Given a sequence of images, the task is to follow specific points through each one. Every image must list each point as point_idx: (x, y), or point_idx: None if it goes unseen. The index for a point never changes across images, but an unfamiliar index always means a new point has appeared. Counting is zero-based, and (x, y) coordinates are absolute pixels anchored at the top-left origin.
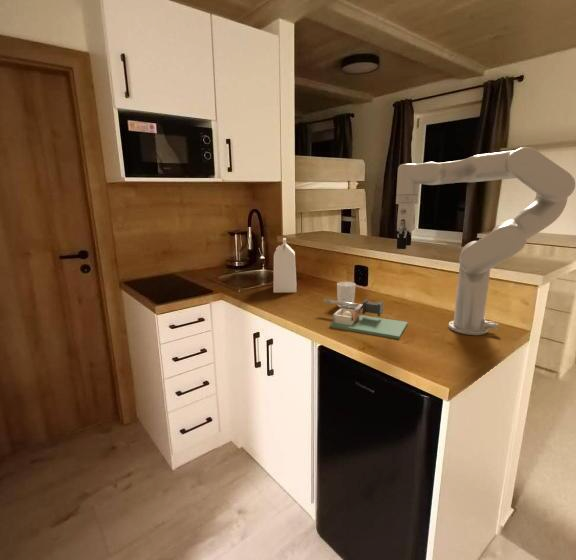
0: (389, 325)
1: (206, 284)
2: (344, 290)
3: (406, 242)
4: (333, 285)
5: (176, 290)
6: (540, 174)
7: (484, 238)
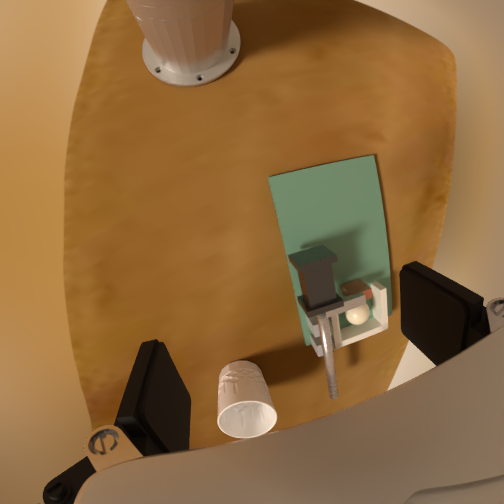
0: (325, 205)
1: None
2: (272, 402)
3: (173, 386)
4: None
5: None
6: None
7: None
